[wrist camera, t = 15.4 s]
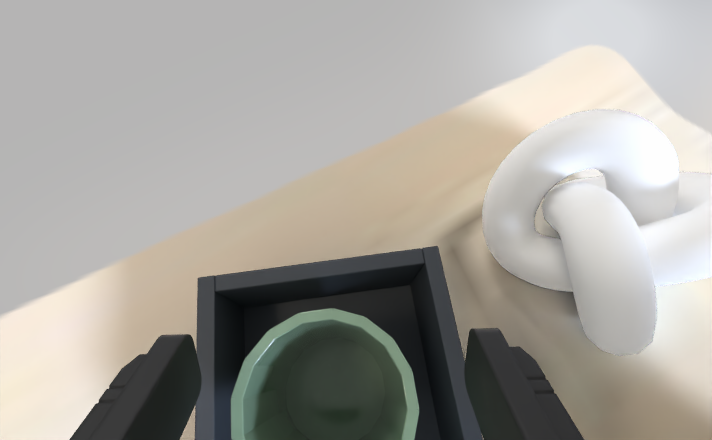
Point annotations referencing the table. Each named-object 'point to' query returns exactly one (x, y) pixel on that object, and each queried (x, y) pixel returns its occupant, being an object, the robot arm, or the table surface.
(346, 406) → the cup
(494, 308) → the table surface
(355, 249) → the table surface
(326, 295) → the tub
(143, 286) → the table surface
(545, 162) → the white knot sculpture
